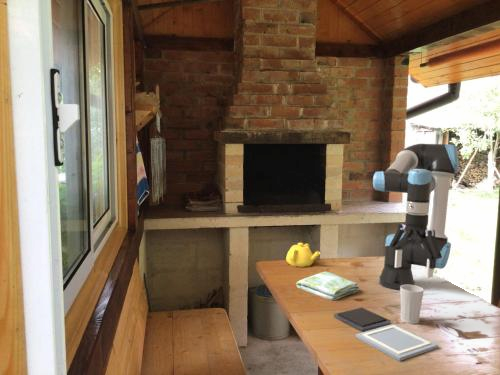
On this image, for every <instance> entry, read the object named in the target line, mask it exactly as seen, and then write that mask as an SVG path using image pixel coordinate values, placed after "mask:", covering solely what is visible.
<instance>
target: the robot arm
mask: <svg viewBox="0 0 500 375" xmlns="http://www.w3.org/2000/svg"><path fill="white" fill-rule="evenodd" d="M458 150H459V149H458V147H457V146H456V145H455V144H447V143H416V144H413V145H410V146H408V147H405V148H403V149H402V150H400V151H399V152H398V153H397V155H396V157H395V160H394V161H393V163H391V165H390V166H389V167H388V168H387V169H386V170H385V171H383V170H381V171H375V173H374V174H373V176H372V186H373V189H374V190H375V191H379V192H390V193H391V192H392V193H405V194H407V195H406V206H405V207H406V208H405V211H406V213H405V223H398V226H397V230H396V231H395V233H391V234H389V235H386V238H385V244H384V246H385V247H384V263H383V268H382V270H381V273H380V276H379V279H378V283H379V285H381V286H382V287H384V288H388V289H391V290H397V291H398V290H400V286H401V285H415V284H416V283H415V280H414V275H413V271H412V266H419V267H420V266H421V267H426V270H425V271H426V272H425V273H426V274H425V278H427V279H431V278H434V269H441V270H442V269H444V268H445V267H446V265H447V264H448V261H449V257H450V253H451V249H452V248H451V247H452V243H451V242H449V238H448V236H446V234H445V231H446V230H445V229H446V222H447V214H448V213H447V211H448V210H447V209H448V200H449V194H450V193H449V192H450V183H451V182H450V180H451V179H452V178H453V177H454V176H455V172H456V173H457V172H459V166H460V165H459V164H460V162H459V161H460V160H459V151H458Z"/></svg>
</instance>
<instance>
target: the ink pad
mask: <svg viewBox="0 0 500 375" xmlns="http://www.w3.org/2000/svg"><path fill="white" fill-rule="evenodd" d="M333 318H335V319H336V320H339V321H340V322H342V323H344V324H346V325H348V326H350V327H352V328H354V329H356V330H358V331H359V332H360V333H362V332H366V331H369V330H373V329H376V328H380V327H383V326H387V325H391V324H392V323H391V321H392V320H390V319H388V318H386V317H384V316H381V315H380V314H377V313H375V312H373V311H371V310H368V309H366V308H364V307H358V308H354V309H350V310H345V311H340V312H337V313H333Z"/></svg>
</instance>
